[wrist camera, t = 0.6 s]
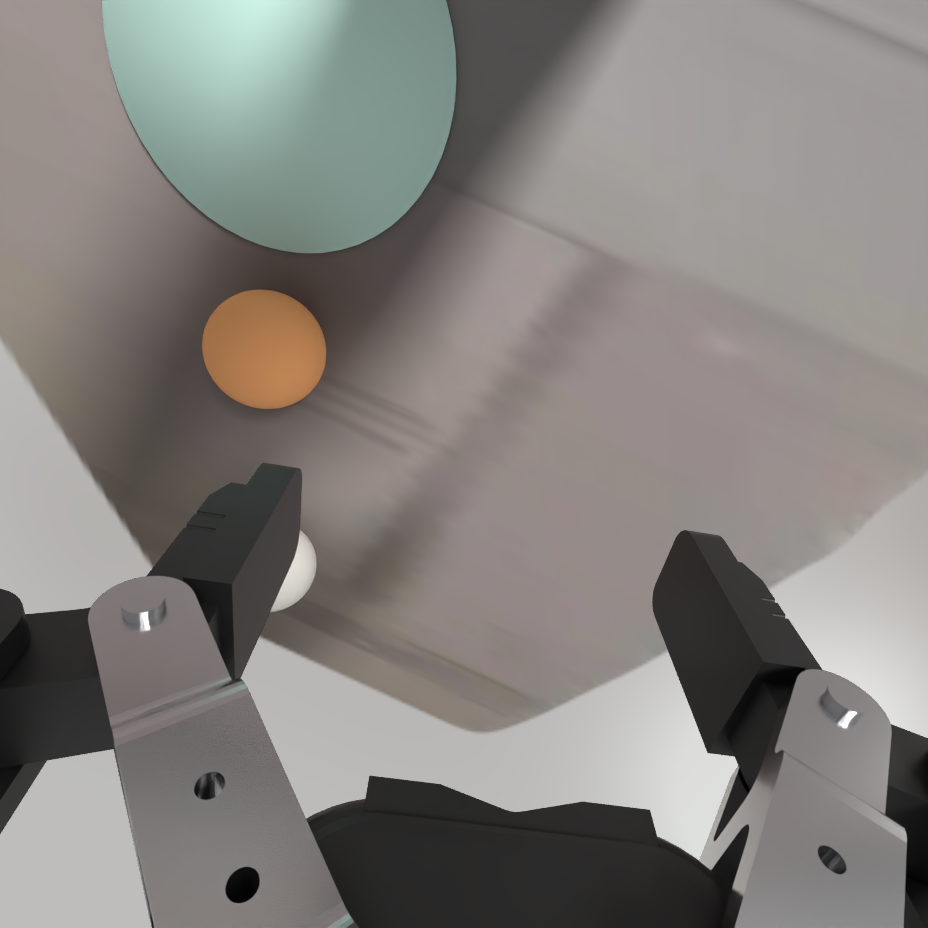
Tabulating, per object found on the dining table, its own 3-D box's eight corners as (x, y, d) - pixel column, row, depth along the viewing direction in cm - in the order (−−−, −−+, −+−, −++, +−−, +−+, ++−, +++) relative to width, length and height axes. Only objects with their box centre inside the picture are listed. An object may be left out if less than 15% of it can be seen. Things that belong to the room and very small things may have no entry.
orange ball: (226, 265, 27) (173, 300, 23) (340, 286, 28) (311, 325, 23) (231, 369, 30) (186, 419, 26) (334, 387, 31) (308, 439, 26)
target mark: (71, -226, 19) (68, -229, 18) (487, -126, 20) (487, -128, 19) (132, 221, 26) (130, 221, 26) (430, 277, 27) (429, 278, 27)
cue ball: (238, 495, 35) (200, 556, 30) (327, 509, 35) (304, 571, 31) (241, 560, 38) (208, 624, 33) (324, 572, 38) (301, 638, 34)
